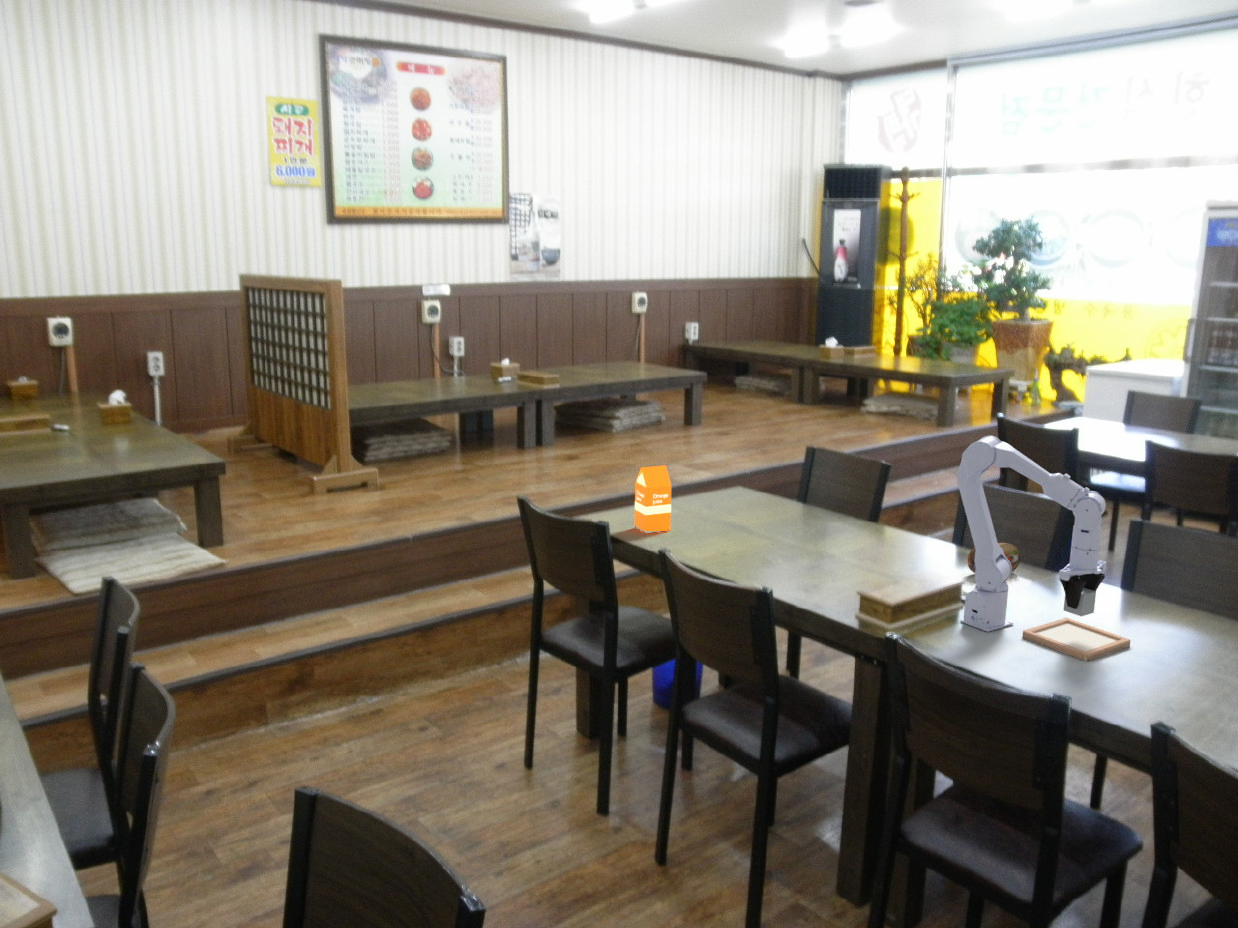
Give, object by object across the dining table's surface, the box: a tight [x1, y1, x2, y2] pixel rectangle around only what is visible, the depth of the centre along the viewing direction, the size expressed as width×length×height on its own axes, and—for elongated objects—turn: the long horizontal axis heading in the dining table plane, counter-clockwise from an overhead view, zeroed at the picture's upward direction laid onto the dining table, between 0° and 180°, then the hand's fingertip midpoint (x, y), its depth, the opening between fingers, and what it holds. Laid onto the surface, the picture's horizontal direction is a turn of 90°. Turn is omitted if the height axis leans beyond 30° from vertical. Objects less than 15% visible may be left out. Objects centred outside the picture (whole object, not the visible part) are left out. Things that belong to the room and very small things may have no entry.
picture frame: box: [1022, 617, 1131, 662], centre depth 232 cm, size 16×16×2 cm
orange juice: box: [634, 465, 672, 532], centre depth 317 cm, size 8×9×20 cm
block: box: [1063, 588, 1097, 617], centre depth 231 cm, size 4×4×5 cm
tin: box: [967, 542, 1021, 574], centre depth 279 cm, size 15×3×8 cm, turn 105°
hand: (1078, 605), depth 231 cm, fingers closed on block, 4 cm apart
